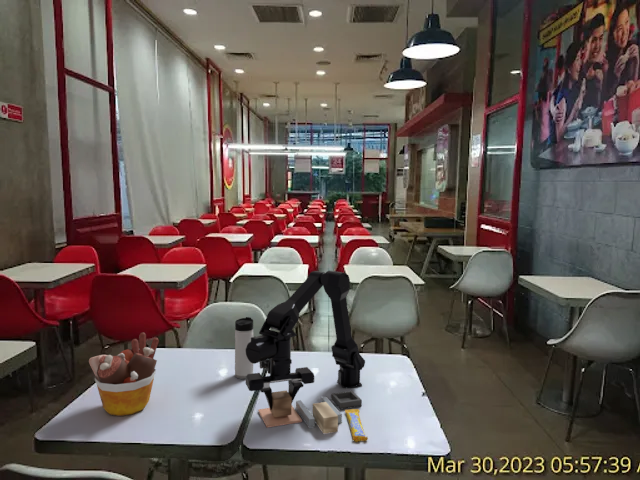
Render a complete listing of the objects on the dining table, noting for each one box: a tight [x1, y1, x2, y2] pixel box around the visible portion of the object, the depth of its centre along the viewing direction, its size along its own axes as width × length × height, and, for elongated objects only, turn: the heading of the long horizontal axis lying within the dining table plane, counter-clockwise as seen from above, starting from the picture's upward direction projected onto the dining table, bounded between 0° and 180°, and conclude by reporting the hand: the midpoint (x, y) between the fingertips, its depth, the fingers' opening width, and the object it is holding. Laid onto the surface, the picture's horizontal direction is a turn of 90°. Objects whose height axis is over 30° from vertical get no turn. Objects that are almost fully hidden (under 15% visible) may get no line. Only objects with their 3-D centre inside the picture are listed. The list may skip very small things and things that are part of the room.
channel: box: [295, 396, 343, 429], centre depth 130 cm, size 10×12×2 cm
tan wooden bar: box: [312, 401, 339, 435], centre depth 125 cm, size 4×9×4 cm, turn 20°
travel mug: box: [234, 316, 254, 380], centre depth 158 cm, size 6×7×20 cm
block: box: [270, 389, 293, 417], centre depth 129 cm, size 5×5×5 cm
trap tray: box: [330, 390, 363, 411], centre depth 139 cm, size 7×7×2 cm
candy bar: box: [344, 408, 369, 443], centre depth 125 cm, size 17×4×2 cm, turn 4°
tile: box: [257, 405, 303, 428], centre depth 130 cm, size 10×10×1 cm
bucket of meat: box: [88, 332, 160, 417], centre depth 133 cm, size 20×16×20 cm
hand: (279, 407), depth 129 cm, fingers closed on block, 5 cm apart
